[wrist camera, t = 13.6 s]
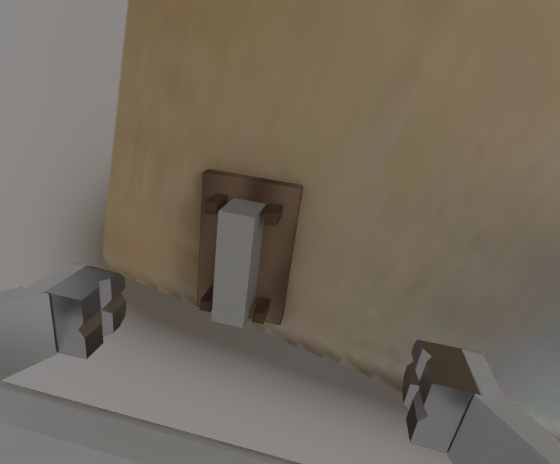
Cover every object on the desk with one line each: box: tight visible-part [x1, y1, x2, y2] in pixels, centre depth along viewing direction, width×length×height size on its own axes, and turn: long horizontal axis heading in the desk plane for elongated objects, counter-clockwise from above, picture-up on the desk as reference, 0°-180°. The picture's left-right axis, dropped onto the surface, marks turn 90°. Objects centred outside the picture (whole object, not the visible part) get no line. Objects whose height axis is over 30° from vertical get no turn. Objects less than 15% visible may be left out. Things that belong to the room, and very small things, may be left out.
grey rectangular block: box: [211, 198, 266, 328], centre depth 36 cm, size 3×12×4 cm, turn 173°
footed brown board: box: [197, 169, 303, 325], centre depth 38 cm, size 10×16×4 cm, turn 173°
